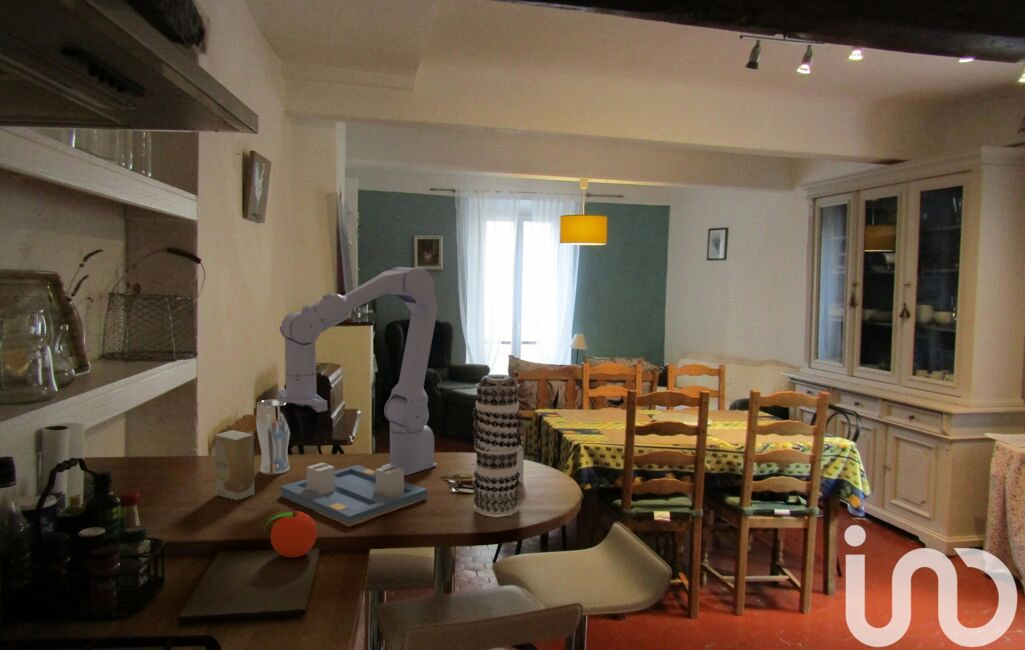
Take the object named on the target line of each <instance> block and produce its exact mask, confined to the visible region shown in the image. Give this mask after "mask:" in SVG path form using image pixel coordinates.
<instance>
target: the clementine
mask: <svg viewBox="0 0 1025 650" xmlns="http://www.w3.org/2000/svg"><path fill="white" fill-rule="evenodd" d="M277 518H278V519H277ZM275 519H276V521H275V523H274V524H273V525H272V528H271V532H270V541H271V545H272V547H273V549H274V551H276V552H277V553H278V554H279V555H281V556H282V557H285V558H292V559H293V558H299V557H302V556H303V555H305V554H307V553H308V552H309V551H311V549H312V547H314V544H315V542H316V541H317V536H318V535H317V534H318V531H317V525H316V523H315V521H314V519H313V518H312V517H311V516H310V515H309V514H307V513H304V511H303V512H302V511H287V512H283V513H279V514H277V515H275V516H274V517H272V518H270V519H269V520H268V522H266V524H265V526H264V529H263V530H265V529H266V527H267V525H268V524H269V523H270V522H271V521H273V520H275Z"/></svg>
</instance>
